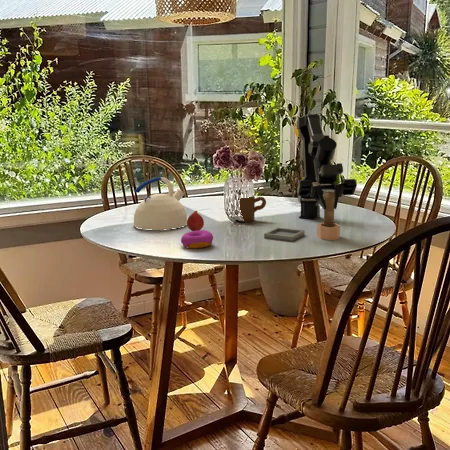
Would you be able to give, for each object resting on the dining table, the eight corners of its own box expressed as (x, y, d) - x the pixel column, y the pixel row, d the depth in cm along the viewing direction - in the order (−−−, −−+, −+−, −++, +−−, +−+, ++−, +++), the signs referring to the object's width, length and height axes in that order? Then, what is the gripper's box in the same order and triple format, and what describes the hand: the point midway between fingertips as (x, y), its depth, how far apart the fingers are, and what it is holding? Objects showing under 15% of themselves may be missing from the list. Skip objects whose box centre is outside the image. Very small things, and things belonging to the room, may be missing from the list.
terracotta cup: (314, 239, 171) (315, 226, 170) (322, 235, 177) (322, 222, 176) (334, 242, 168) (335, 228, 167) (341, 237, 174) (342, 224, 173)
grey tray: (264, 239, 172) (264, 233, 172) (277, 233, 181) (277, 227, 180) (292, 243, 167) (292, 237, 167) (304, 236, 176) (304, 230, 175)
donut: (185, 241, 172) (185, 228, 171) (216, 242, 170) (216, 228, 169) (178, 249, 162) (177, 235, 161) (210, 250, 160) (210, 236, 159)
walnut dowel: (322, 229, 171) (323, 193, 168) (325, 227, 174) (326, 191, 171) (331, 230, 170) (332, 193, 167) (335, 228, 172) (336, 192, 170)
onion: (191, 235, 179) (190, 212, 177) (184, 232, 184) (184, 209, 182) (206, 233, 181) (206, 211, 180) (199, 230, 186) (199, 208, 185)
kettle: (199, 225, 195) (198, 176, 191) (151, 234, 182) (148, 182, 178) (169, 217, 210) (167, 172, 206) (123, 224, 198) (120, 177, 194)
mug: (265, 218, 205) (265, 194, 203) (266, 222, 198) (266, 197, 196) (234, 218, 205) (234, 194, 203) (234, 222, 198) (234, 198, 196)
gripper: (299, 155, 170) (304, 194, 162) (356, 154, 171) (365, 193, 162) (295, 176, 179) (300, 214, 171) (349, 175, 180) (356, 213, 172)
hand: (330, 208), depth 169 cm, fingers closed on walnut dowel, 3 cm apart
